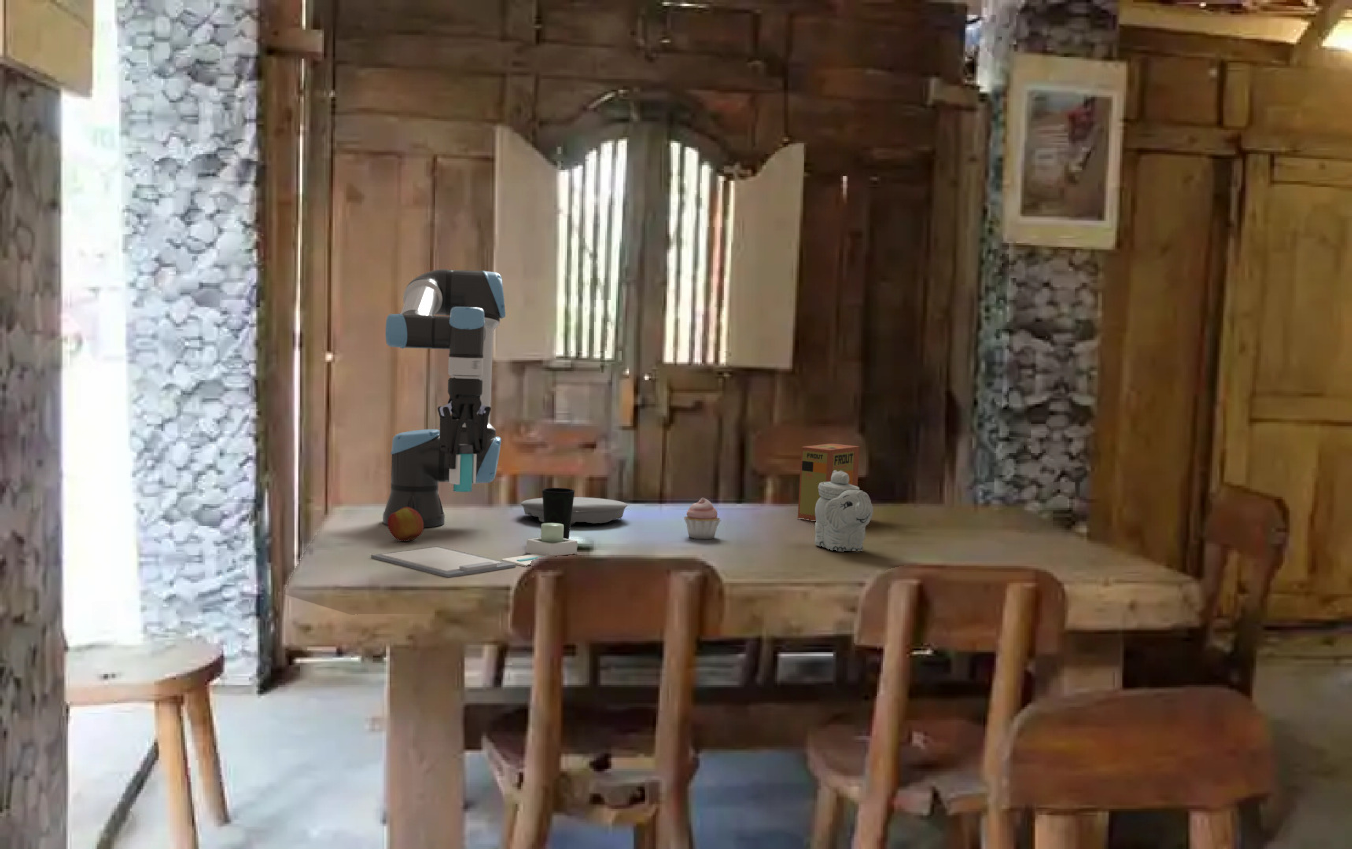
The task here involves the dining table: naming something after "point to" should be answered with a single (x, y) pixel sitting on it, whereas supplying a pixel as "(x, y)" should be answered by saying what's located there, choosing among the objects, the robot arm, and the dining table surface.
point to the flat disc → (581, 509)
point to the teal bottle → (465, 468)
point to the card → (522, 559)
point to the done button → (552, 532)
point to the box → (823, 472)
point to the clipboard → (443, 561)
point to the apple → (405, 524)
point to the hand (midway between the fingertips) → (462, 483)
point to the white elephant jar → (841, 514)
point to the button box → (551, 547)
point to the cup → (558, 507)
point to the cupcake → (702, 520)
